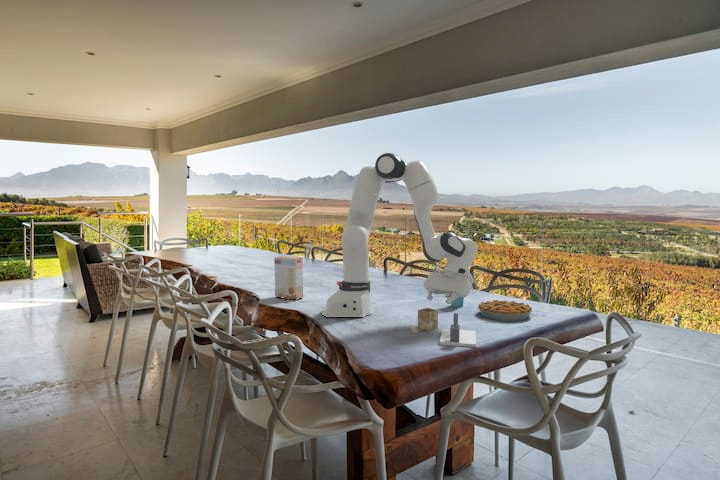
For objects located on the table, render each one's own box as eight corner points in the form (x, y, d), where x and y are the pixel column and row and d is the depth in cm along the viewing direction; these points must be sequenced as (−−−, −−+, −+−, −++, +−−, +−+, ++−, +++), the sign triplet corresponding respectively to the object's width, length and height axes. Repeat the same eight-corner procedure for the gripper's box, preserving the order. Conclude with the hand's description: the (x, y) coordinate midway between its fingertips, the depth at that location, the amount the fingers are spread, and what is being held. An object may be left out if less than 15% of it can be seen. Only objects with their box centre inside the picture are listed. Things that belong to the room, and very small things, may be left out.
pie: (494, 307, 209) (494, 296, 209) (541, 315, 193) (541, 303, 193) (468, 315, 194) (468, 304, 193) (516, 325, 178) (516, 312, 178)
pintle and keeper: (451, 334, 166) (451, 312, 165) (459, 335, 165) (460, 313, 164) (450, 344, 154) (450, 321, 153) (459, 345, 153) (459, 321, 153)
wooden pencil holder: (426, 325, 178) (426, 307, 177) (437, 328, 174) (437, 310, 173) (408, 330, 171) (408, 312, 171) (419, 333, 167) (419, 314, 167)
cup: (451, 310, 203) (452, 276, 201) (439, 307, 209) (439, 274, 207) (472, 305, 211) (472, 273, 210) (459, 302, 217) (459, 271, 216)
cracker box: (303, 298, 228) (303, 257, 227) (295, 300, 223) (295, 258, 222) (282, 295, 236) (281, 255, 234) (274, 297, 231) (273, 256, 229)
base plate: (442, 331, 170) (442, 328, 169) (475, 333, 167) (475, 330, 167) (439, 344, 154) (439, 341, 154) (476, 347, 151) (476, 344, 151)
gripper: (429, 266, 189) (414, 292, 184) (471, 271, 174) (455, 300, 168) (436, 275, 193) (421, 301, 187) (478, 281, 177) (463, 310, 172)
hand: (438, 301), depth 177 cm, fingers open, 8 cm apart
